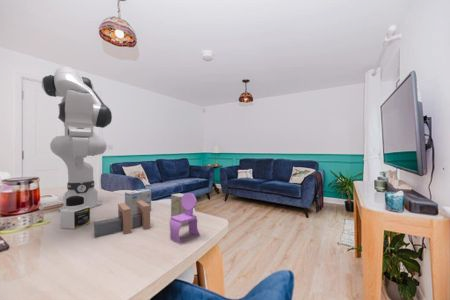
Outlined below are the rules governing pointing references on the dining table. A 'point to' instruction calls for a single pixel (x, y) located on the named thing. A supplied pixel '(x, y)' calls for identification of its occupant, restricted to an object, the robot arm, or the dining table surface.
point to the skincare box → (177, 205)
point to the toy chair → (184, 218)
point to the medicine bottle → (74, 213)
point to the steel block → (115, 225)
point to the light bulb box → (137, 198)
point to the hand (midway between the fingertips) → (79, 168)
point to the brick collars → (140, 208)
